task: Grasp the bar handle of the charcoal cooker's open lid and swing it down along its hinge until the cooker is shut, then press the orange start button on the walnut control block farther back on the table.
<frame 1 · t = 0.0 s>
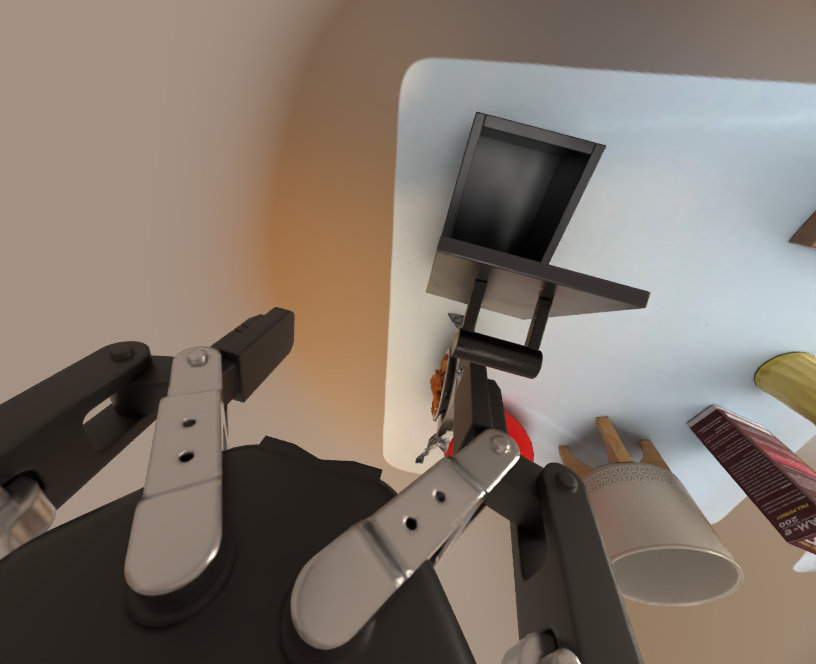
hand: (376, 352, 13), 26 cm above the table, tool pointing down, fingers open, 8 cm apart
vase: (783, 371, 37), on the table
supplement box: (722, 424, 42), on the table
tomato: (483, 421, 49), on the table
cooker: (494, 212, 33), on the table
cooker lid: (488, 324, 22), point 17 cm above the table, hinge at 60.0°
planter: (601, 445, 48), on the table
meal: (448, 358, 44), on the table
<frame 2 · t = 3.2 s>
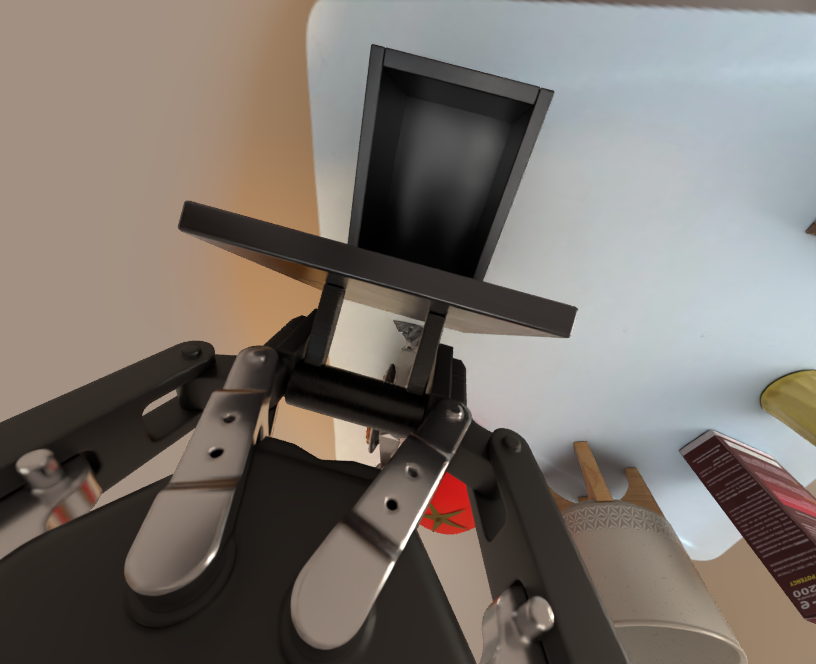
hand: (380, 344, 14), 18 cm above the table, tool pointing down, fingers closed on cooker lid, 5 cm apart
vase: (795, 391, 31), on the table
supplement box: (721, 451, 36), on the table
tomato: (446, 443, 43), on the table
cooker: (437, 197, 27), on the table
cooker lid: (383, 345, 15), point 17 cm above the table, hinge at 60.0°, touching gripper
planter: (581, 472, 41), on the table
meal: (399, 372, 38), on the table
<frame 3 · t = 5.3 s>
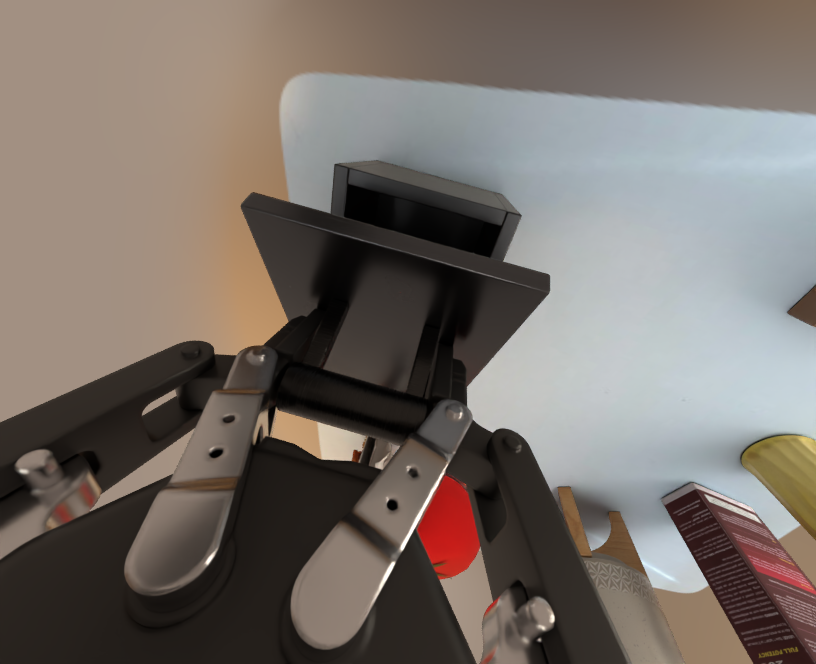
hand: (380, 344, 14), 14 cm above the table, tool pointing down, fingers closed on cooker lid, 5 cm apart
vase: (775, 452, 31), on the table
supplement box: (703, 501, 36), on the table
tomato: (432, 482, 43), on the table
cooker: (417, 266, 27), on the table
cooker lid: (369, 389, 15), point 15 cm above the table, hinge at 26.9°, touching gripper
planter: (566, 513, 42), on the table
meal: (384, 419, 38), on the table
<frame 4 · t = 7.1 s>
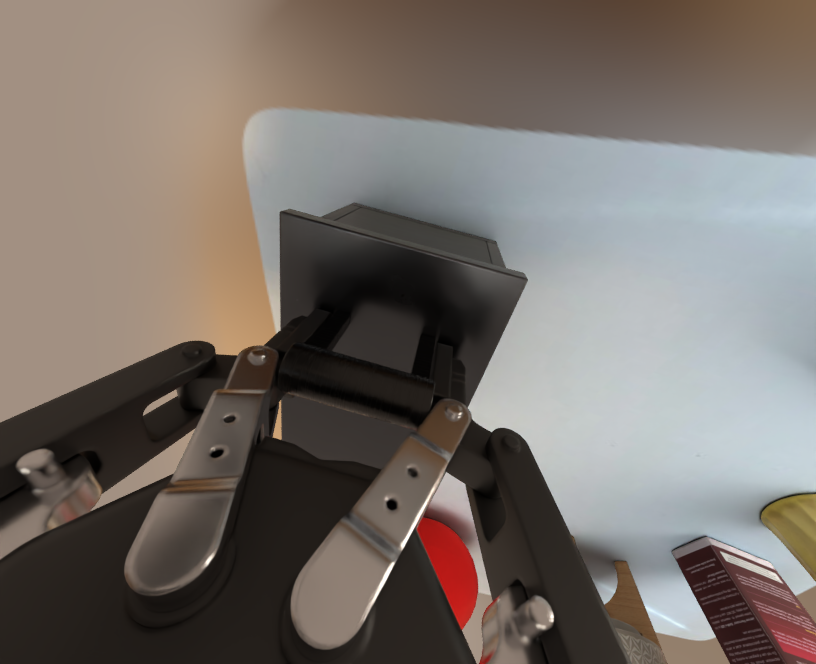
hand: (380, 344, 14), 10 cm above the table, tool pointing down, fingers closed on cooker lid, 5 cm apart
vase: (799, 509, 28), on the table
supplement box: (717, 554, 33), on the table
tomato: (425, 526, 40), on the table
cooker: (402, 313, 24), on the table
cooker lid: (360, 417, 14), point 12 cm above the table, hinge at -0.2°, touching cooker, gripper
planter: (568, 560, 39), on the table
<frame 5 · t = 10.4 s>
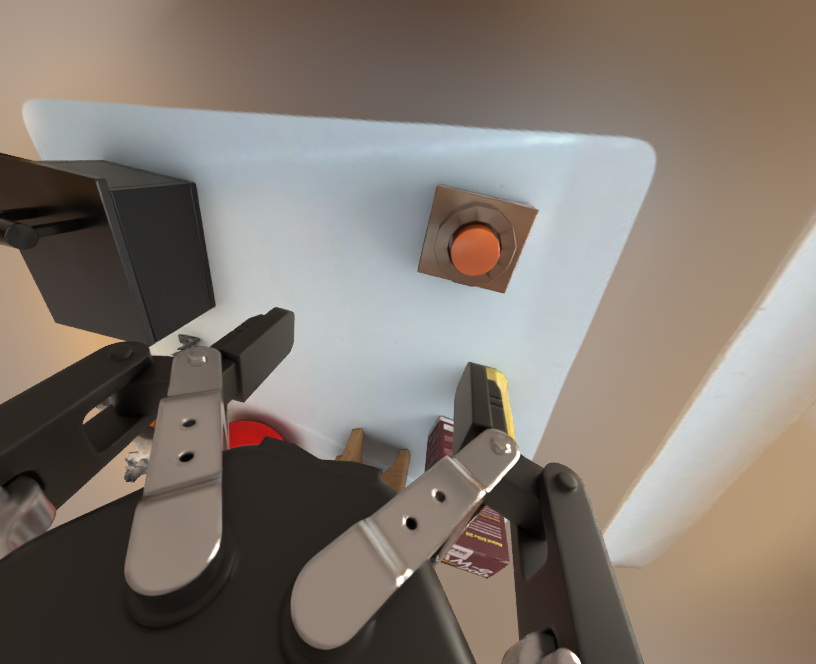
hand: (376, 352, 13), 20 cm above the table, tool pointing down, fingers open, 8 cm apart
control block: (472, 238, 29), on the table
vase: (482, 384, 39), on the table
supplement box: (460, 433, 44), on the table
tomato: (263, 433, 51), on the table
cooker: (165, 241, 34), on the table
cooker lid: (45, 269, 24), point 12 cm above the table, hinge at -0.2°, touching cooker
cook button: (474, 250, 26), point 4 cm above the table, slide at 0.1 cm
planter: (372, 454, 49), on the table
meal: (202, 376, 46), on the table
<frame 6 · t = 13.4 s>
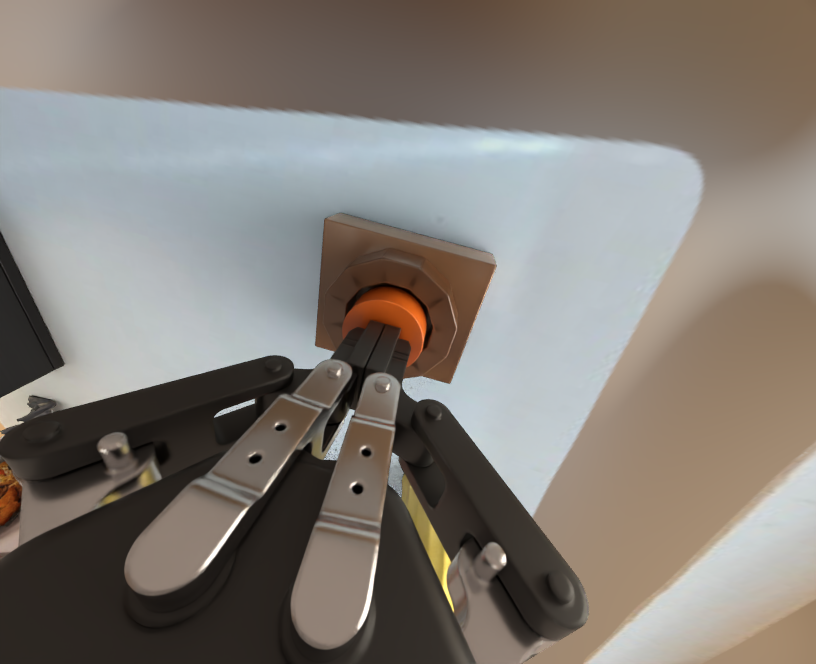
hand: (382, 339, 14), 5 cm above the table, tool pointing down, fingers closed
control block: (401, 296, 19), on the table
vase: (434, 482, 28), on the table
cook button: (385, 329, 15), point 4 cm above the table, slide at 0.0 cm, touching gripper
meal: (76, 443, 35), on the table
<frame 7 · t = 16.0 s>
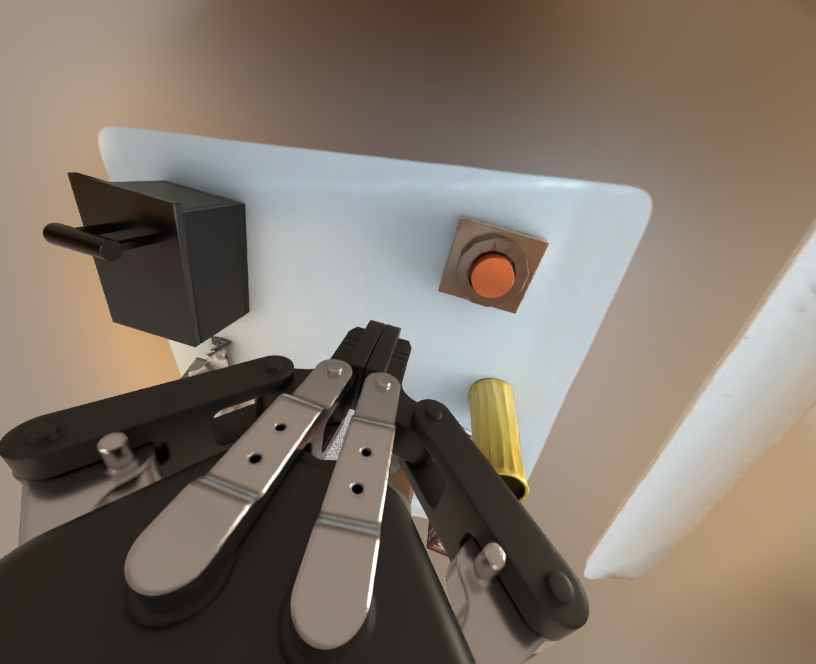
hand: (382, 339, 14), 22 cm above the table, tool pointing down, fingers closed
control block: (488, 263, 33), on the table
vase: (490, 394, 42), on the table
supplement box: (466, 440, 47), on the table
cooker: (210, 252, 38), on the table
cooker lid: (118, 277, 28), point 12 cm above the table, hinge at -0.2°, touching cooker
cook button: (491, 275, 29), point 4 cm above the table, slide at 0.1 cm
planter: (382, 457, 52), on the table
meal: (228, 375, 49), on the table
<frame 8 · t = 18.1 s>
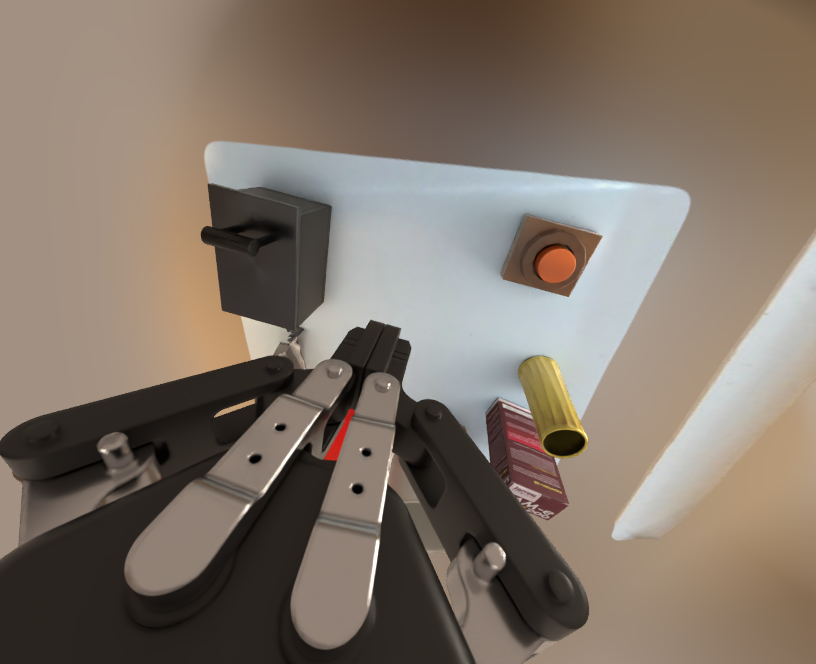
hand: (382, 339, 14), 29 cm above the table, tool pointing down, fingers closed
control block: (545, 254, 39), on the table
vase: (537, 370, 47), on the table
supplement box: (512, 413, 53), on the table
tomato: (338, 412, 59), on the table
cooker: (294, 249, 44), on the table
cooker lid: (244, 270, 33), point 12 cm above the table, hinge at -0.2°, touching cooker
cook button: (554, 264, 35), point 4 cm above the table, slide at 0.1 cm
planter: (432, 431, 58), on the table
meal: (296, 360, 54), on the table
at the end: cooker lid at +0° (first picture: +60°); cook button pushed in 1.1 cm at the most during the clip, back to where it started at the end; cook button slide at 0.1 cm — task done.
